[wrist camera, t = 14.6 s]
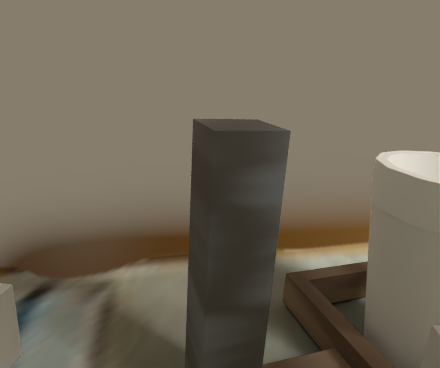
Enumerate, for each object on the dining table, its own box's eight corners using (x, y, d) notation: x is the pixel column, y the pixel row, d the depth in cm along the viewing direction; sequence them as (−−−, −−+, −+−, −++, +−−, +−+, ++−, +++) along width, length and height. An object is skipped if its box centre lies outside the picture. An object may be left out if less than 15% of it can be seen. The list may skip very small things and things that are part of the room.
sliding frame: (420, 276, 32) (465, 112, 28) (638, 419, 19) (790, 155, 15) (165, 321, 24) (168, 104, 20) (243, 607, 12) (301, 179, 7)
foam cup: (513, 467, 17) (626, 219, 13) (323, 373, 21) (362, 170, 17) (494, 347, 24) (560, 169, 20) (357, 297, 29) (389, 144, 25)
